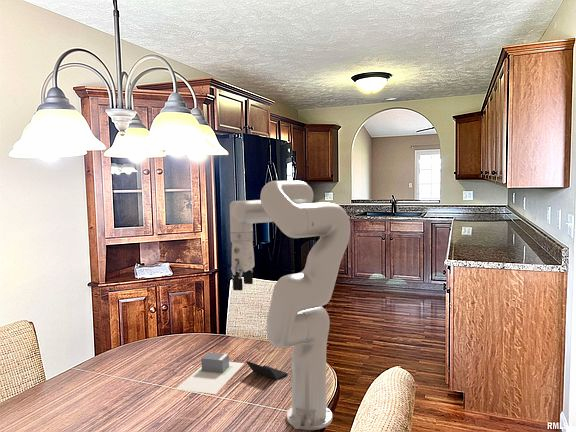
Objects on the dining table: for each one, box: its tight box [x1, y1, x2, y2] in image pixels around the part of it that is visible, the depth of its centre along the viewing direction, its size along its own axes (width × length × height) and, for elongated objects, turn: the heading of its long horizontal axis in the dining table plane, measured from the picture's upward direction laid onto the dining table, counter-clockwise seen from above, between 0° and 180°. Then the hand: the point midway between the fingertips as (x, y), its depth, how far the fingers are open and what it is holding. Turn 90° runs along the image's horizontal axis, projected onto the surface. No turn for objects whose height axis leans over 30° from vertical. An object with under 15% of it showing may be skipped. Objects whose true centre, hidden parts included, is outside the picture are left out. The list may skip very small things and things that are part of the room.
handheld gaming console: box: [245, 360, 288, 381], centre depth 146 cm, size 12×7×10 cm
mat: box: [175, 361, 245, 395], centre depth 147 cm, size 24×14×1 cm, turn 164°
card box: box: [200, 352, 230, 373], centre depth 151 cm, size 8×6×4 cm
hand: (243, 286), depth 148 cm, fingers open, 9 cm apart
